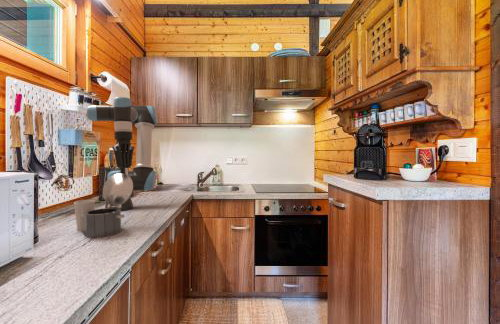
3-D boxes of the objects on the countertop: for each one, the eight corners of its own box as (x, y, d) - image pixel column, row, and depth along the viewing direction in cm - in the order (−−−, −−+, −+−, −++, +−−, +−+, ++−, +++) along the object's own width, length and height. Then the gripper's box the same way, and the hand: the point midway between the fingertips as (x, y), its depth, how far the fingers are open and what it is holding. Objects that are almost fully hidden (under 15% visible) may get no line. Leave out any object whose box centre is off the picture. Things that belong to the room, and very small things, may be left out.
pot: (98, 226, 126) (97, 205, 125) (135, 228, 122) (134, 206, 121) (70, 236, 111) (70, 212, 111) (112, 238, 107) (111, 213, 107)
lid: (99, 207, 123) (103, 208, 126) (128, 207, 120) (132, 208, 123) (106, 173, 128) (110, 174, 131) (134, 173, 125) (138, 174, 128)
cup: (86, 231, 118) (85, 203, 118) (70, 230, 120) (69, 203, 119) (99, 226, 126) (99, 200, 125) (84, 225, 127) (83, 199, 127)
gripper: (125, 132, 136) (126, 180, 137) (106, 130, 123) (108, 183, 124) (138, 132, 134) (140, 180, 135) (121, 129, 122) (122, 183, 122)
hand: (124, 182), depth 129 cm, fingers closed
